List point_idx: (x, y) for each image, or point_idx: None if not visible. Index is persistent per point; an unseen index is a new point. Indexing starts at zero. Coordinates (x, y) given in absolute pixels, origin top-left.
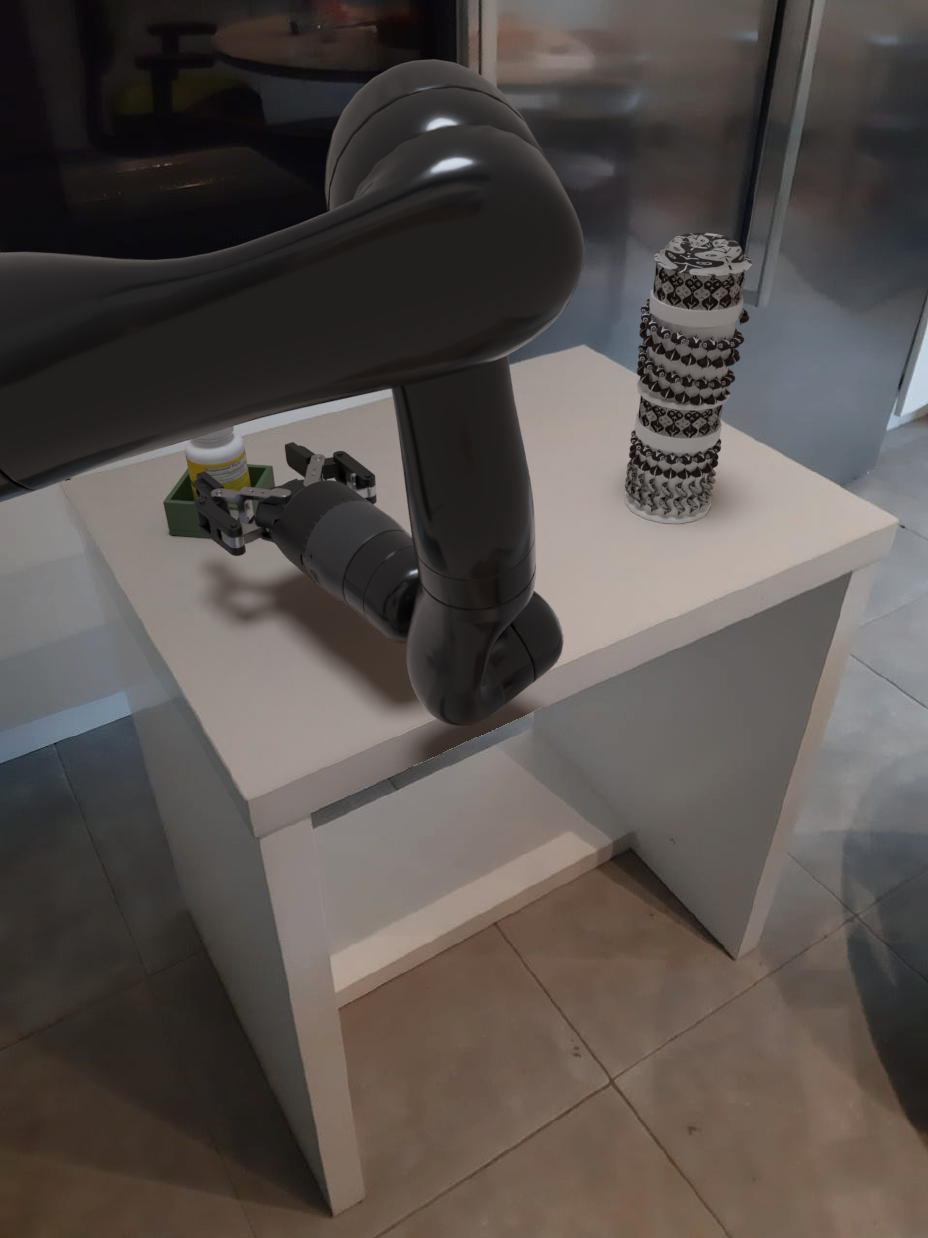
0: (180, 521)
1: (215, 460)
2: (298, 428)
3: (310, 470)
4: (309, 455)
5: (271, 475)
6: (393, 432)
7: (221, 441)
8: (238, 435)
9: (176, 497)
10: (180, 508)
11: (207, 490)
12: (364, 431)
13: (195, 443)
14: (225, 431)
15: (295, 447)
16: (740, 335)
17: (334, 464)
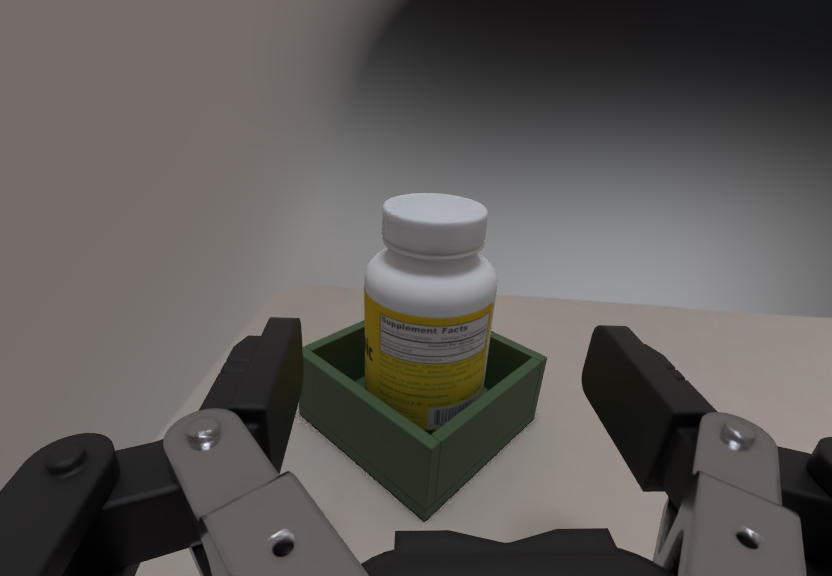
0: (314, 400)
1: (404, 303)
2: (615, 308)
3: (719, 538)
4: (690, 404)
5: (537, 376)
6: (793, 369)
7: (437, 265)
8: (490, 269)
9: (335, 349)
10: (317, 376)
11: (223, 393)
12: (731, 348)
13: (387, 254)
14: (453, 243)
15: (632, 348)
16: None
17: (820, 504)
